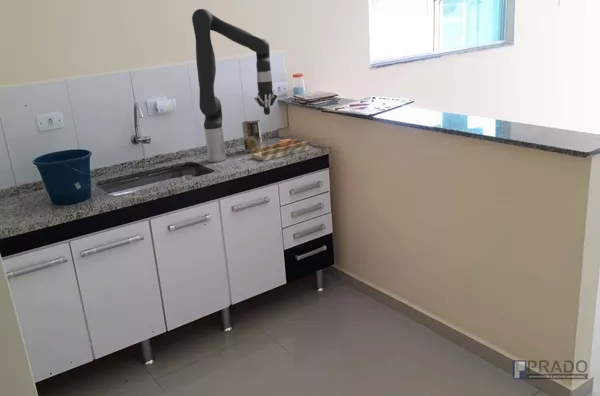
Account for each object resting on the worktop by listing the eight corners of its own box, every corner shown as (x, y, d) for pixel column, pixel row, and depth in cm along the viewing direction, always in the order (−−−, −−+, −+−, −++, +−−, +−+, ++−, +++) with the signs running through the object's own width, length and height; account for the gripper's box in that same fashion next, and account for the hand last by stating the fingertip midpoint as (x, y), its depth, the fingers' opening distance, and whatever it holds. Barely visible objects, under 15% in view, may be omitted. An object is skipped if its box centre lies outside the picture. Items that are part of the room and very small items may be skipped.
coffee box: (263, 148, 307) (260, 119, 302) (261, 151, 301) (258, 122, 296) (247, 149, 308) (244, 120, 303) (244, 152, 302) (241, 123, 297)
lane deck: (263, 161, 279) (262, 152, 278) (252, 157, 288) (251, 149, 286) (310, 149, 296) (309, 141, 294) (298, 146, 304) (297, 138, 303)
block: (285, 149, 290) (284, 141, 289) (280, 147, 294) (279, 140, 292) (293, 147, 292) (292, 140, 291) (287, 146, 296) (287, 138, 295)
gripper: (257, 82, 270) (260, 117, 276) (279, 79, 278) (281, 113, 283) (249, 81, 276) (252, 115, 282) (271, 78, 284) (273, 112, 289)
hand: (267, 114), depth 282 cm, fingers closed
